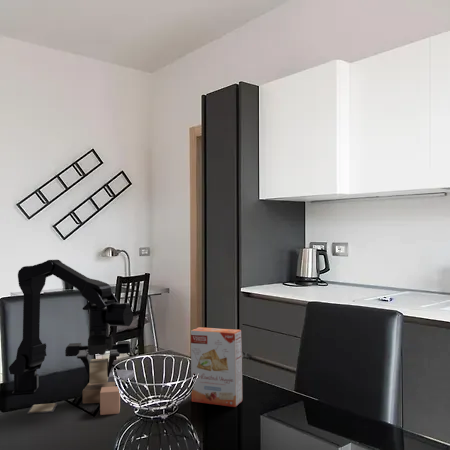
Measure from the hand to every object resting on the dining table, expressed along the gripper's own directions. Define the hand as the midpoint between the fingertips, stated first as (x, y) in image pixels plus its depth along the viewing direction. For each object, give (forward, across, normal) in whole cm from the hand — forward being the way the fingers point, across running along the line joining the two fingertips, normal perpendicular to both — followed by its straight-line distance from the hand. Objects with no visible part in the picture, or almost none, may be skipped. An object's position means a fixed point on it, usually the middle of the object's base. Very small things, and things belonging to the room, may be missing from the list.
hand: (99, 377), depth 144 cm
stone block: (+7, +4, +15) cm, 17 cm away
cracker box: (+6, +34, -11) cm, 36 cm away
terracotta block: (+6, +4, -12) cm, 14 cm away
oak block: (+1, 0, 0) cm, 1 cm away
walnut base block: (+7, 0, 0) cm, 7 cm away
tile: (+6, -15, -6) cm, 17 cm away
